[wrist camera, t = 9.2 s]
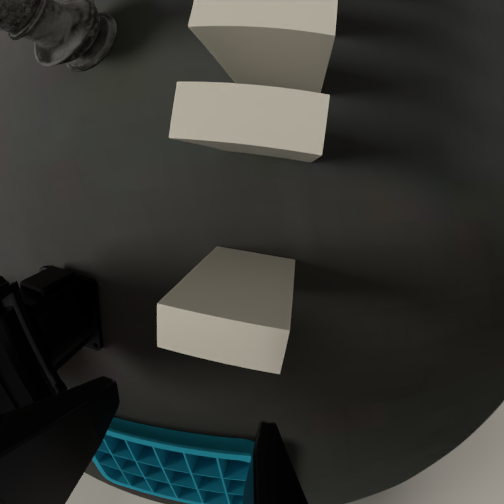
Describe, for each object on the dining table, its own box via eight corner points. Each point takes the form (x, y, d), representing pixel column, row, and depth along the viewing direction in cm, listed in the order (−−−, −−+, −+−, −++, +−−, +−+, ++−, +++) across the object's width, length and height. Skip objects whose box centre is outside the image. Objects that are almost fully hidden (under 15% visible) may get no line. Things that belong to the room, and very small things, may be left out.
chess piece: (124, 1, 16) (23, -66, 5) (116, 64, 18) (-11, 15, 6) (67, 23, 17) (-35, -16, 5) (59, 83, 18) (-61, 62, 7)
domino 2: (310, 162, 18) (322, 155, 9) (228, 151, 18) (168, 138, 10) (315, 130, 17) (329, 94, 9) (232, 119, 18) (177, 81, 9)
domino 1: (319, 95, 17) (335, 35, 8) (237, 86, 17) (187, 26, 8) (323, 66, 16) (338, -9, 7) (241, 57, 17) (198, -15, 8)
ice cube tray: (271, 493, 27) (268, 513, 24) (115, 464, 30) (105, 480, 27) (268, 432, 24) (264, 456, 21) (82, 401, 27) (68, 417, 24)
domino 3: (289, 289, 20) (279, 374, 11) (214, 275, 20) (157, 346, 12) (295, 259, 19) (290, 330, 11) (217, 246, 20) (157, 303, 11)
